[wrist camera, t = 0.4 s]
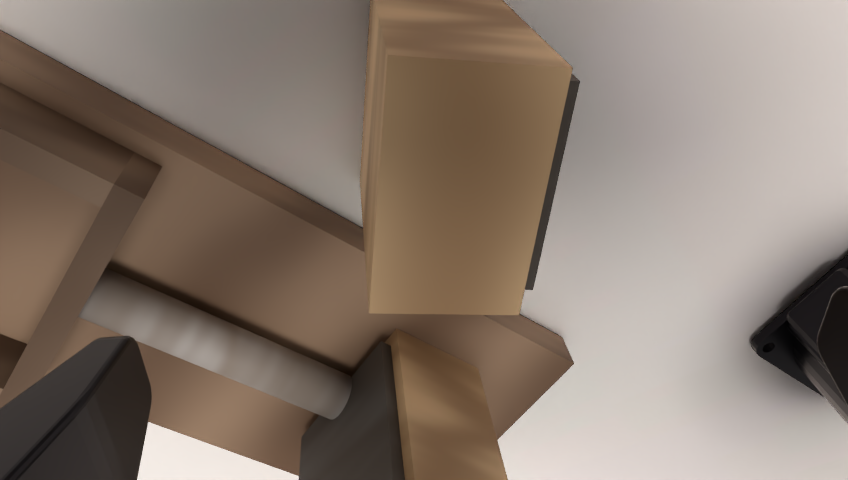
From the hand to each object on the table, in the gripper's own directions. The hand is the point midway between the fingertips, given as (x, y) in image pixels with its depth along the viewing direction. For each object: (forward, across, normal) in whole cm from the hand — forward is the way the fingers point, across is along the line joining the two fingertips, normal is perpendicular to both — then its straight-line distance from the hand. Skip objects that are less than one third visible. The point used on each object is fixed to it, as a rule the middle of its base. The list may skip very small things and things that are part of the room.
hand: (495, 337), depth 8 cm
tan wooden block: (+13, 0, +1) cm, 13 cm away
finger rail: (+13, +7, +8) cm, 16 cm away
